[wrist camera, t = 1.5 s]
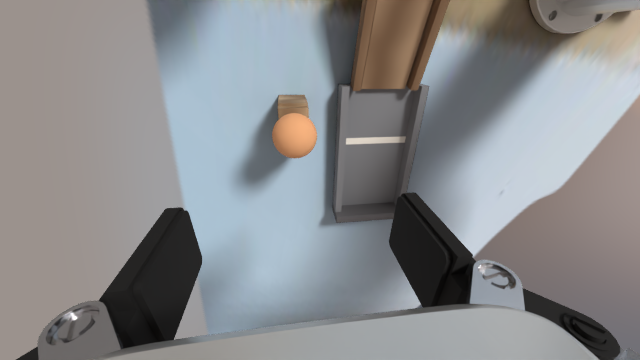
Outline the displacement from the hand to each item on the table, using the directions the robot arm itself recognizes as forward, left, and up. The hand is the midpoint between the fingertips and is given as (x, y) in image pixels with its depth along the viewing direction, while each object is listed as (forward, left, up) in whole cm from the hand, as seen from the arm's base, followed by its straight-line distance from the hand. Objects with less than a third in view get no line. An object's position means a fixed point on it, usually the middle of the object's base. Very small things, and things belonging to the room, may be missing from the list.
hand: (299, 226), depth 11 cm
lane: (-10, +4, -19) cm, 22 cm away
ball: (0, 0, -13) cm, 13 cm away
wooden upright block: (0, 0, -19) cm, 19 cm away
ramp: (-10, -9, -19) cm, 24 cm away
